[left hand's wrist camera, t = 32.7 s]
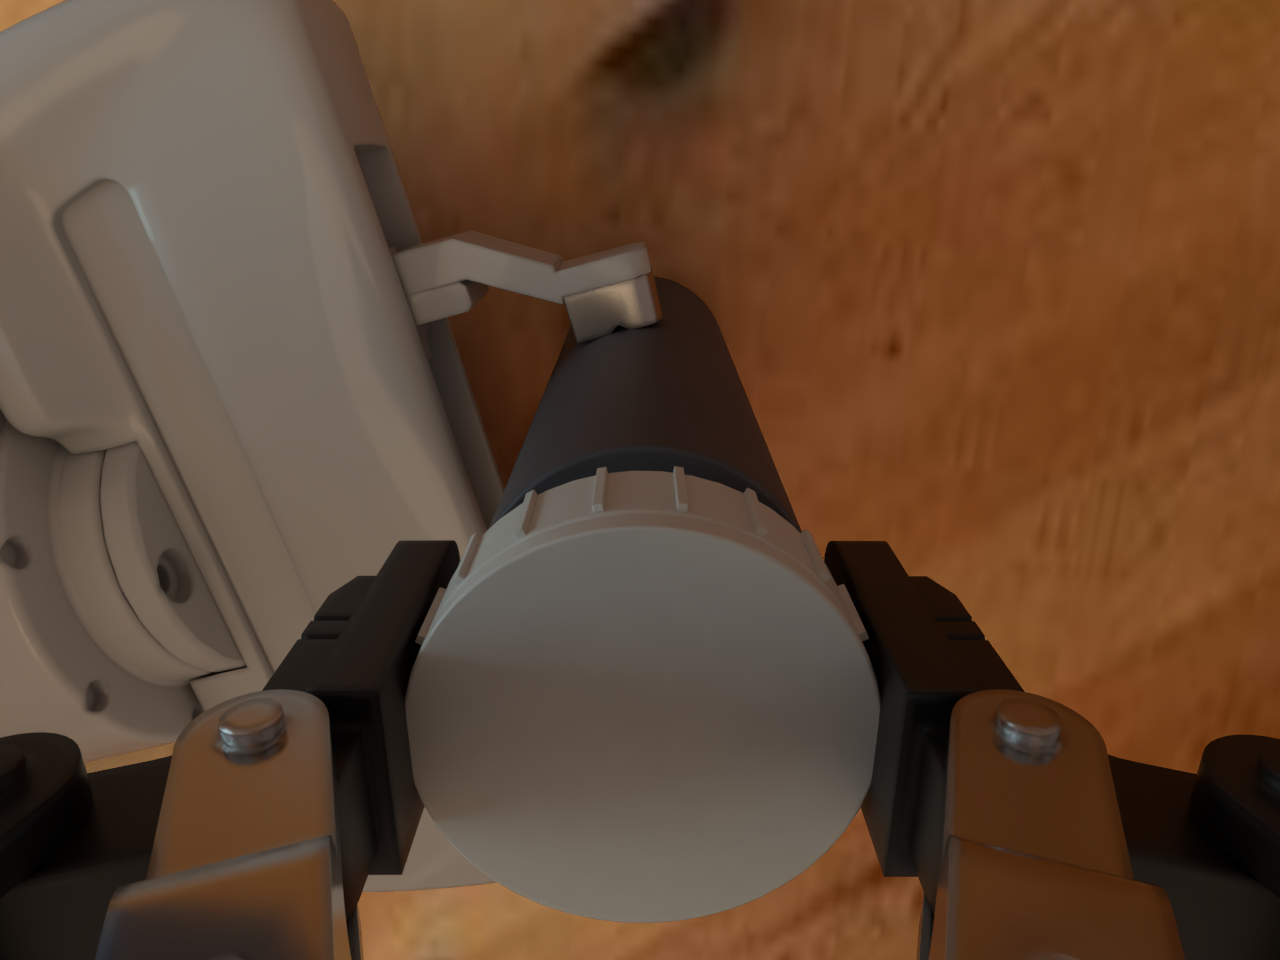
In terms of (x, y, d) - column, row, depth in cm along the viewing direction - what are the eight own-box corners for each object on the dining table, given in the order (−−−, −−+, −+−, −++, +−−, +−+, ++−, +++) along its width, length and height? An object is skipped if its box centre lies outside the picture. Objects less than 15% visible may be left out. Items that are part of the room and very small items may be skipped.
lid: (377, 502, 10) (330, 565, 8) (834, 426, 9) (871, 477, 8) (485, 850, 12) (462, 953, 10) (871, 796, 11) (906, 896, 10)
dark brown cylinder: (677, 246, 23) (732, 414, 9) (750, 386, 25) (900, 732, 10) (536, 325, 24) (371, 599, 10) (615, 456, 26) (575, 871, 11)
